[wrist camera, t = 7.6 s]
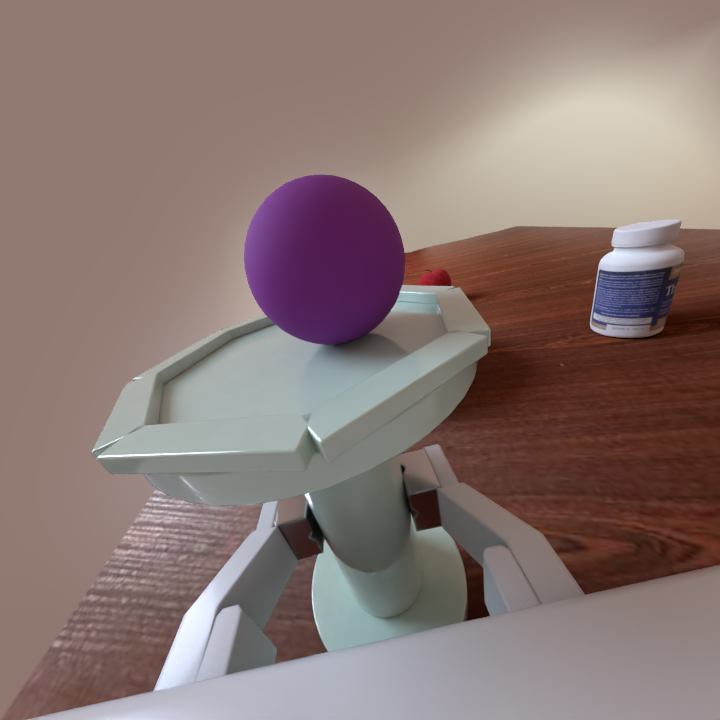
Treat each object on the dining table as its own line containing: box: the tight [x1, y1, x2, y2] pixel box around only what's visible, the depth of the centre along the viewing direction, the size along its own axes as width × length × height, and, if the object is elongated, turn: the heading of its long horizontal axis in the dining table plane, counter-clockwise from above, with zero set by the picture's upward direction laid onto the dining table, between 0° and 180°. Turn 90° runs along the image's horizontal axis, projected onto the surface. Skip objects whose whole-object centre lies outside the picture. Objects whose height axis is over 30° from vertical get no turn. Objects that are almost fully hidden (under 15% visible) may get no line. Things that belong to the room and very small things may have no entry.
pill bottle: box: [590, 219, 685, 338], centre depth 25 cm, size 5×5×10 cm
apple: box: [418, 269, 451, 286], centre depth 47 cm, size 8×8×6 cm
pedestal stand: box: [92, 285, 491, 652], centre depth 8 cm, size 7×7×11 cm
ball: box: [244, 175, 405, 345], centre depth 5 cm, size 3×3×3 cm
